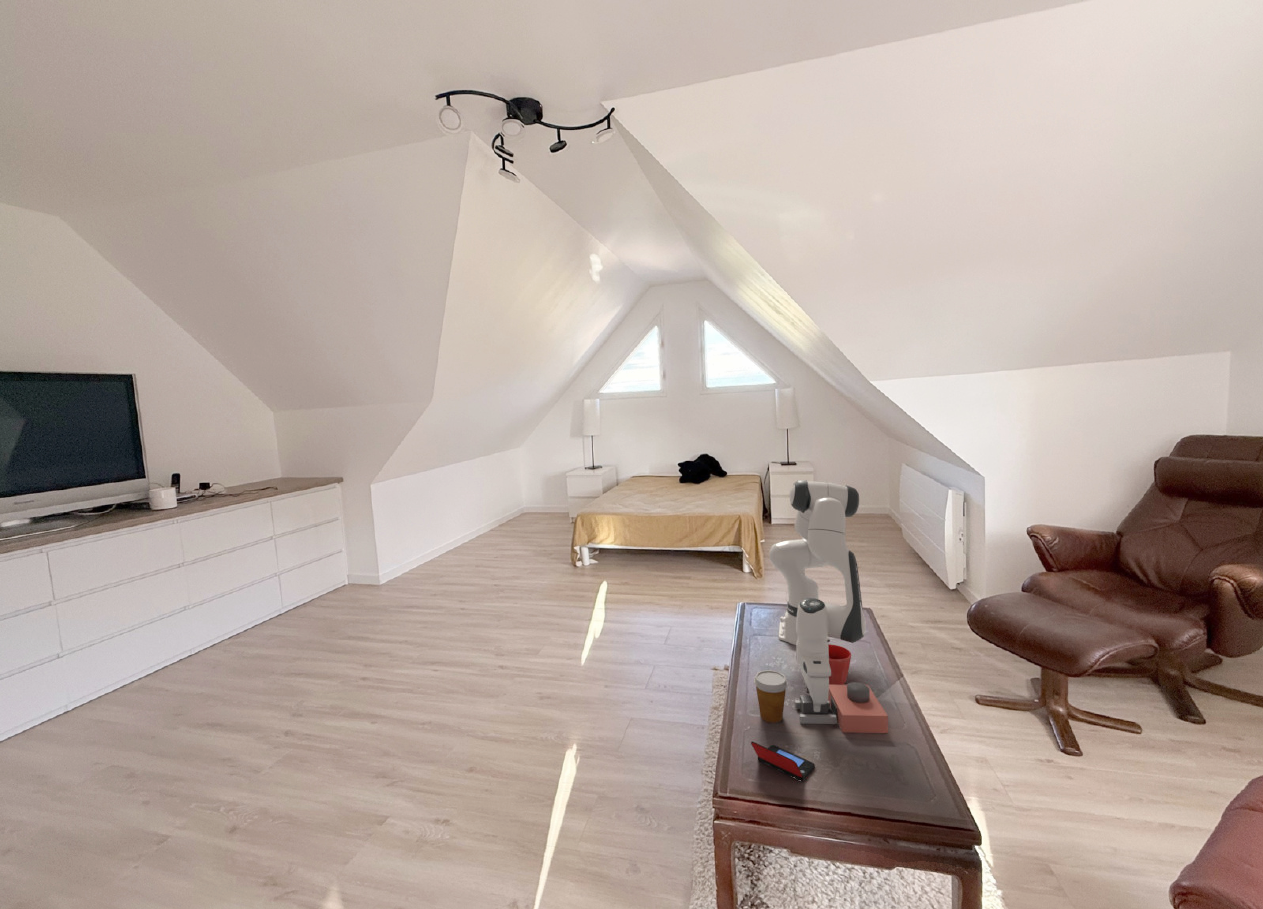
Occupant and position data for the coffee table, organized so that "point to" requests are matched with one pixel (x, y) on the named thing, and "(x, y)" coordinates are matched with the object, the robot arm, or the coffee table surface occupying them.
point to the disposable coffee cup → (771, 694)
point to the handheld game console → (784, 761)
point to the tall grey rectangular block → (811, 706)
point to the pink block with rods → (851, 710)
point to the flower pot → (838, 664)
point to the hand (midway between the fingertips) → (812, 700)
